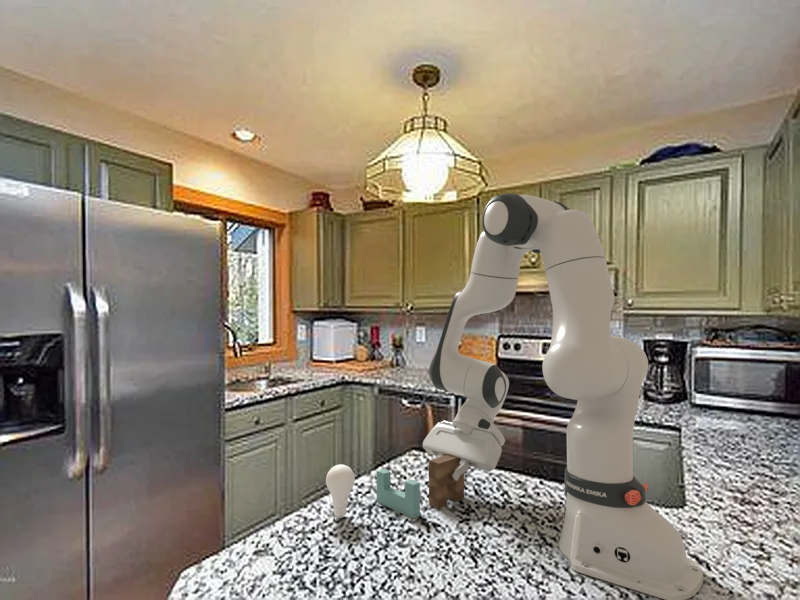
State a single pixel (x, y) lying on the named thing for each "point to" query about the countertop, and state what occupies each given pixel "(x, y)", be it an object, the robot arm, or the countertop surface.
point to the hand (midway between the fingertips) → (445, 476)
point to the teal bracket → (398, 495)
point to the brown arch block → (444, 481)
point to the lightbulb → (340, 487)
